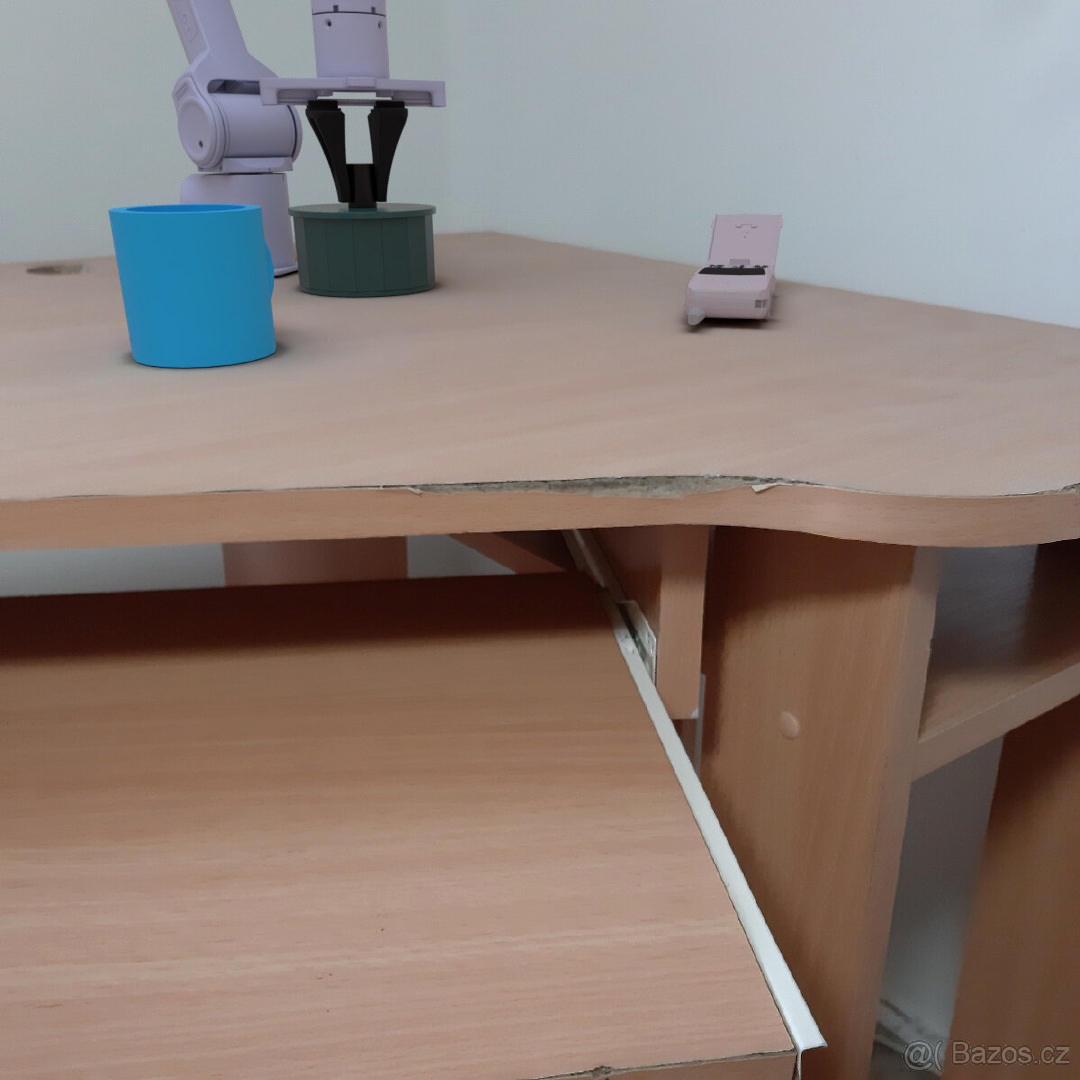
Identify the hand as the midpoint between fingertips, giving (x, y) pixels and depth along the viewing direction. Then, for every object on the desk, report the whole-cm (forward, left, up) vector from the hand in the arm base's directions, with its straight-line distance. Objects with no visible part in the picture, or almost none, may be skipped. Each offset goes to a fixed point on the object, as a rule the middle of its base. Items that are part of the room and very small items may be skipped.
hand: (362, 202), depth 80 cm
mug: (0, -26, -7) cm, 27 cm away
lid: (0, 0, -1) cm, 1 cm away
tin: (0, 0, -7) cm, 7 cm away
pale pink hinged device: (+31, -4, -7) cm, 32 cm away
